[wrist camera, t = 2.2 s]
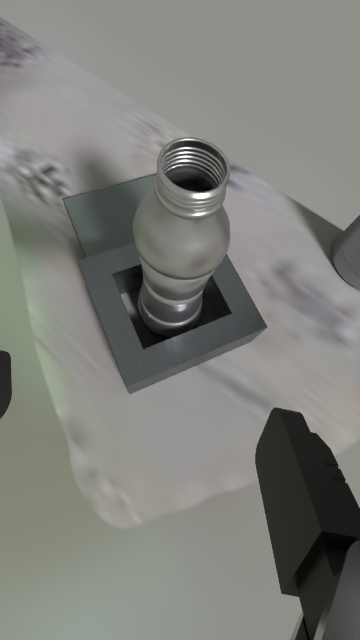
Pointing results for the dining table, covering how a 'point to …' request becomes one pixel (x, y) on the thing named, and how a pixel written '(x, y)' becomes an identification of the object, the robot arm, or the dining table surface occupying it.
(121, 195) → the grey-green rectangular panel
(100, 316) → the metal collar
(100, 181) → the dining table surface
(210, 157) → the silver metal bottle
